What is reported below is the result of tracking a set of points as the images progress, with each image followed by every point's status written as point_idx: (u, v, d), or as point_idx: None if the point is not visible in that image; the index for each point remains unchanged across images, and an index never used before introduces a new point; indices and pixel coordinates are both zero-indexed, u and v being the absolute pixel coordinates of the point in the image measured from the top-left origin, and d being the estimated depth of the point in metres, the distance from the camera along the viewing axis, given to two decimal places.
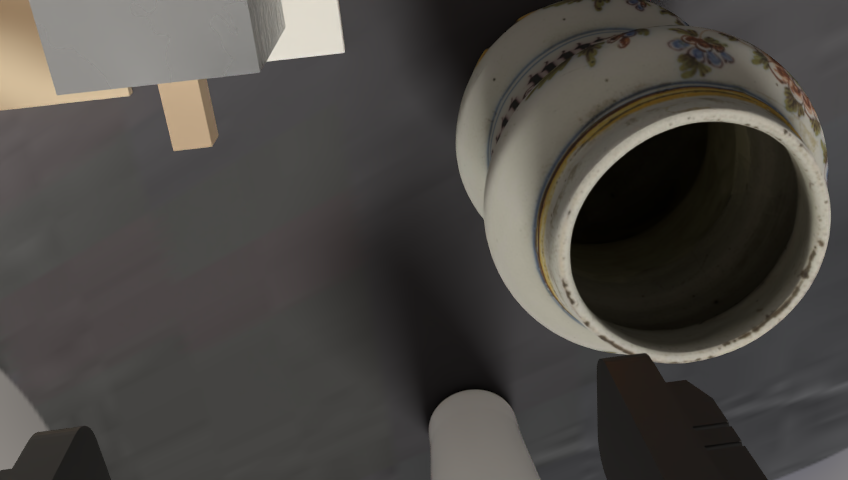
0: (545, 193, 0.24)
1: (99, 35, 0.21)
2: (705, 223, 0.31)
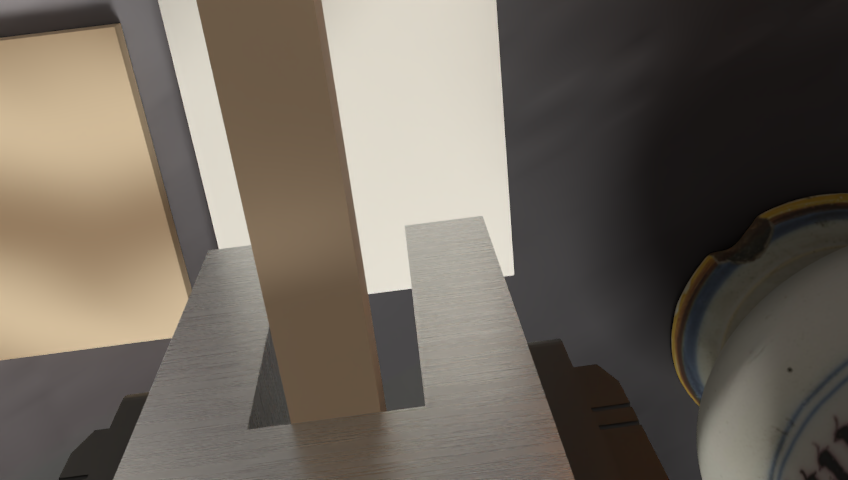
0: None
1: None
2: None
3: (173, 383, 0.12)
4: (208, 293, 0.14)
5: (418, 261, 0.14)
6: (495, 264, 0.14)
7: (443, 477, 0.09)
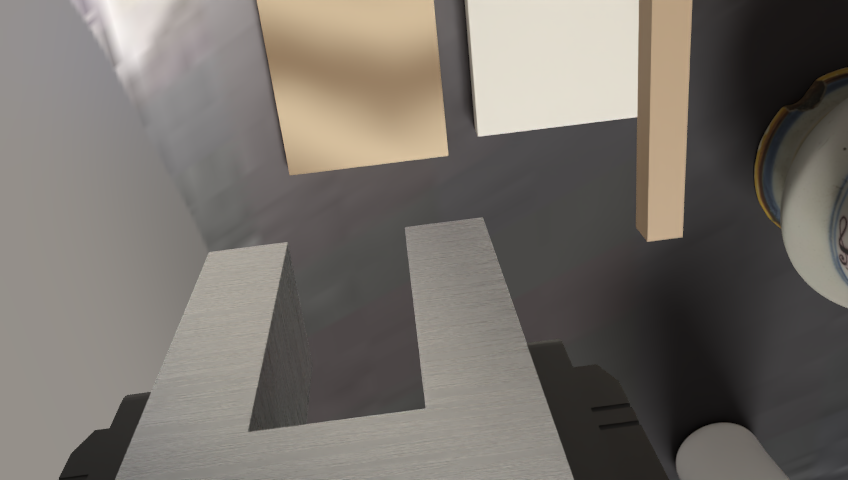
0: None
1: None
2: None
3: (174, 385, 0.12)
4: (209, 295, 0.14)
5: (418, 264, 0.14)
6: (495, 266, 0.14)
7: (443, 479, 0.09)
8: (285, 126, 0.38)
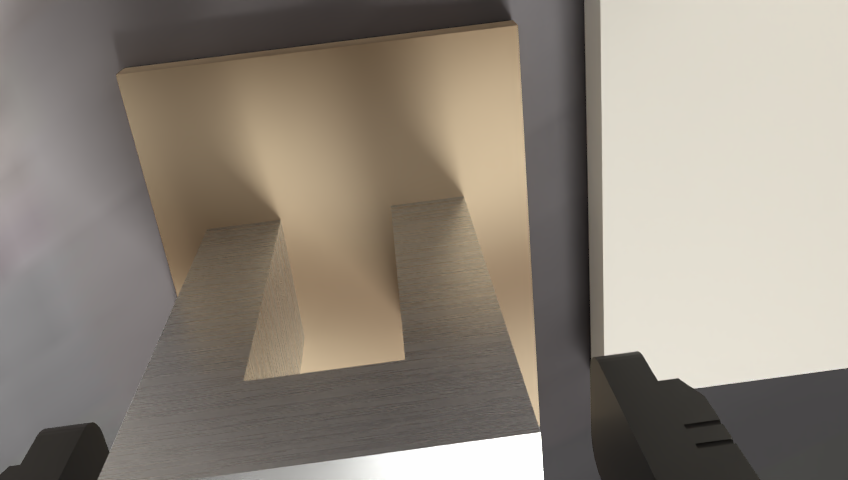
0: None
1: None
2: None
3: (175, 343, 0.13)
4: (207, 266, 0.15)
5: (402, 237, 0.15)
6: (473, 238, 0.15)
7: (419, 418, 0.10)
8: None
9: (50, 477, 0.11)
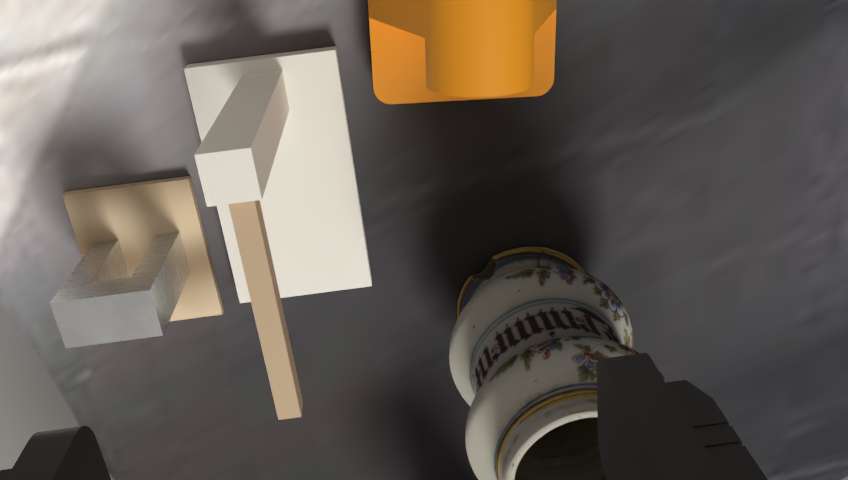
0: (500, 444, 0.41)
1: (85, 323, 0.44)
2: None
3: (75, 274, 0.47)
4: (90, 254, 0.49)
5: (151, 245, 0.49)
6: (171, 246, 0.49)
7: (126, 288, 0.44)
8: None
9: None
